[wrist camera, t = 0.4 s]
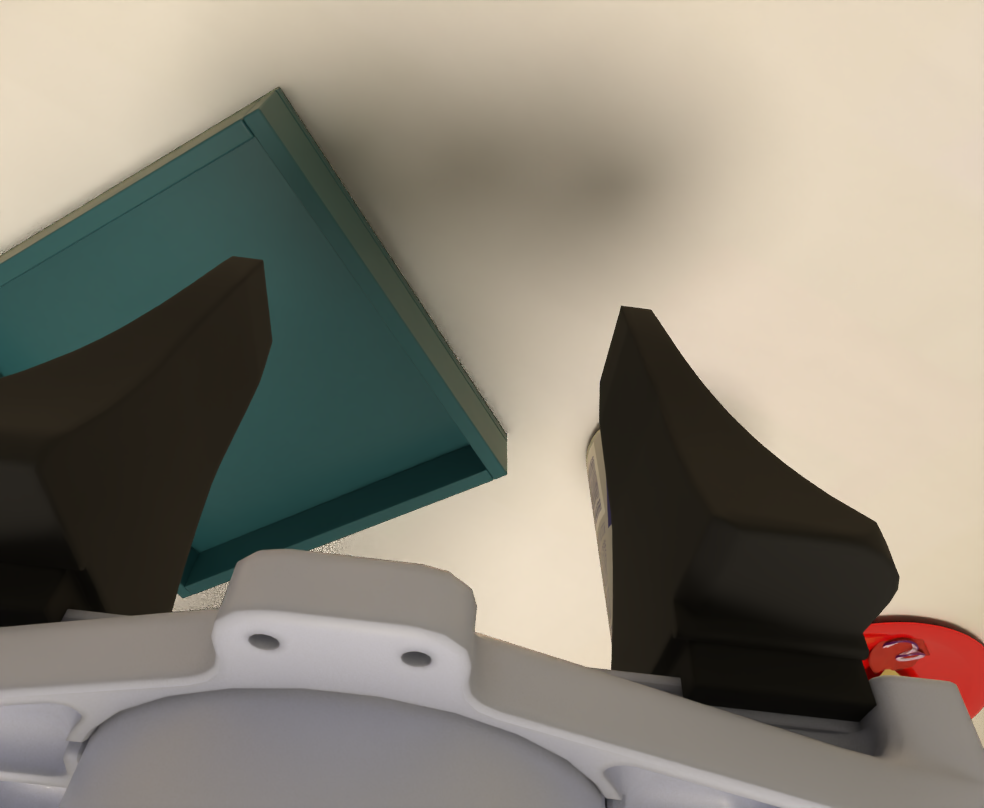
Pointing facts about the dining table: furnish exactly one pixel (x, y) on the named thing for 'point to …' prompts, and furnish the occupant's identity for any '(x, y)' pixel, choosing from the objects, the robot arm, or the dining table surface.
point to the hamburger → (928, 657)
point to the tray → (295, 334)
